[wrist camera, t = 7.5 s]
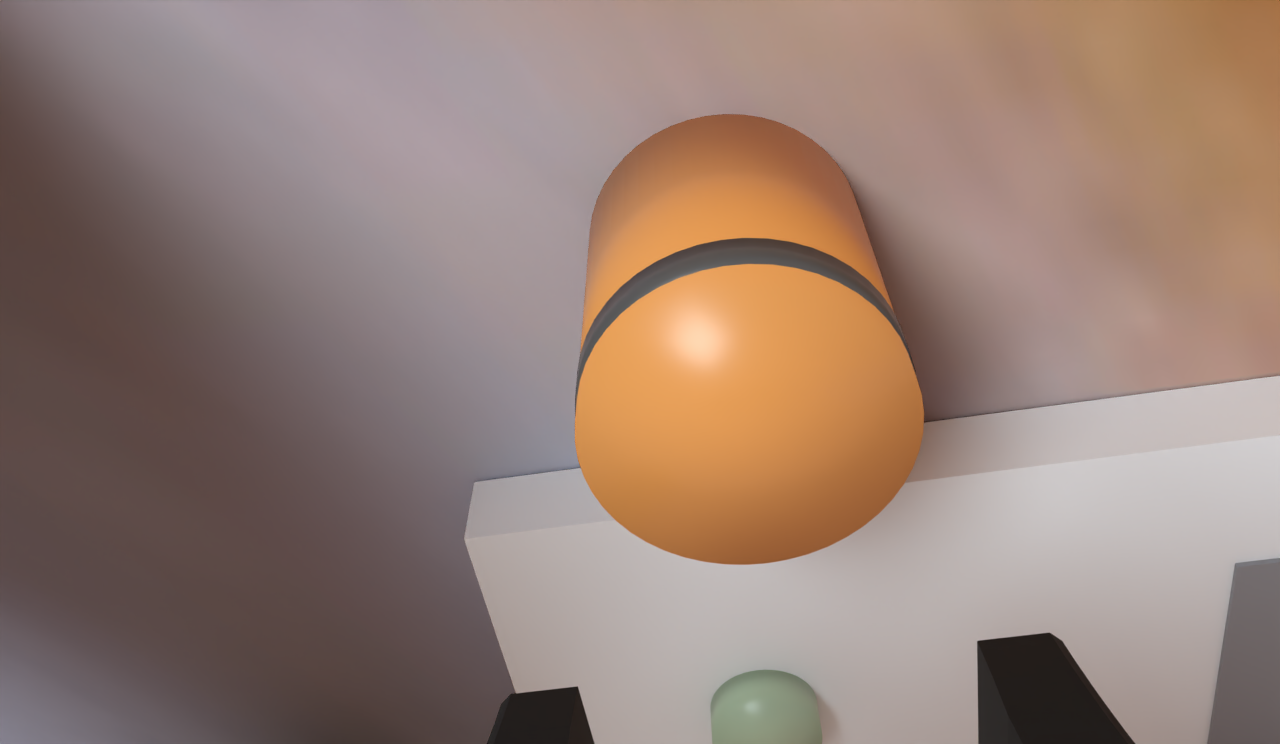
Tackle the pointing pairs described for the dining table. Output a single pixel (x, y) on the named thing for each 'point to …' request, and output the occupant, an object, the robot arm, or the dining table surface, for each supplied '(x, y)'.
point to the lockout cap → (739, 349)
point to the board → (927, 586)
